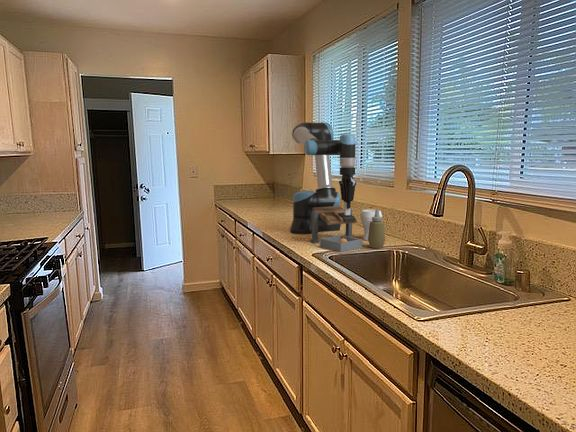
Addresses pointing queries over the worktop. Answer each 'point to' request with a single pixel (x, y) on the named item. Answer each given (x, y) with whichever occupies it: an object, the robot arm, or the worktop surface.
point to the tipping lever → (331, 218)
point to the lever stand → (315, 227)
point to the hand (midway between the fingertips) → (347, 214)
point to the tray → (335, 245)
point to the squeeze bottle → (376, 231)
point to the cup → (367, 220)
